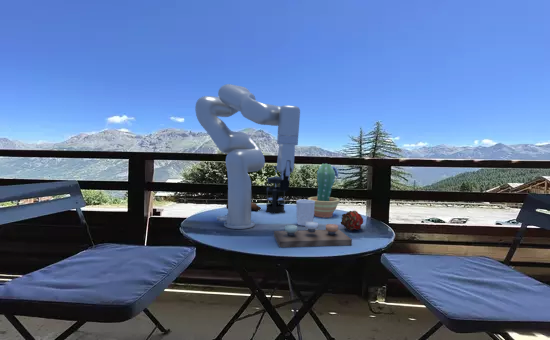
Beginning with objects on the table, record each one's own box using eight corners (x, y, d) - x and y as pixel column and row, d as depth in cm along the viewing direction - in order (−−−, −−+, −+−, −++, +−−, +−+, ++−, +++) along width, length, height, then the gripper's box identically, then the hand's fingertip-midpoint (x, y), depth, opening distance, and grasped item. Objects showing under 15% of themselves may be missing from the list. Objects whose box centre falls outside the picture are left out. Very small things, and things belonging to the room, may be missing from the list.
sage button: (285, 236, 113) (286, 228, 112) (283, 233, 117) (283, 225, 117) (298, 236, 113) (298, 227, 113) (295, 232, 118) (295, 224, 117)
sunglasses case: (263, 208, 172) (261, 198, 168) (258, 217, 166) (256, 207, 163) (233, 205, 178) (230, 196, 175) (228, 214, 173) (224, 204, 170)
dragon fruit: (347, 237, 127) (351, 234, 138) (366, 226, 125) (369, 223, 136) (335, 218, 129) (340, 216, 140) (353, 207, 127) (357, 206, 138)
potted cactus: (340, 219, 149) (342, 165, 147) (306, 218, 152) (307, 164, 149) (338, 212, 164) (340, 163, 162) (308, 211, 167) (309, 162, 165)
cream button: (307, 233, 114) (307, 224, 113) (304, 230, 118) (304, 221, 118) (319, 233, 114) (319, 224, 114) (315, 229, 119) (316, 221, 118)
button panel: (279, 247, 108) (279, 241, 108) (274, 236, 121) (274, 231, 121) (351, 245, 112) (351, 239, 112) (338, 234, 125) (338, 229, 125)
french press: (267, 208, 171) (268, 165, 169) (285, 209, 170) (286, 165, 168) (264, 213, 159) (264, 166, 157) (283, 214, 158) (284, 167, 156)
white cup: (313, 227, 136) (314, 203, 135) (294, 225, 137) (295, 202, 136) (315, 222, 143) (315, 200, 142) (297, 221, 145) (297, 199, 144)
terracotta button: (327, 235, 115) (328, 227, 115) (324, 232, 119) (324, 224, 119) (339, 235, 116) (340, 227, 115) (335, 231, 120) (335, 223, 120)
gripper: (274, 139, 124) (271, 186, 127) (280, 140, 110) (276, 194, 112) (294, 140, 125) (290, 187, 128) (302, 142, 111) (298, 195, 113)
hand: (284, 190), depth 120 cm, fingers closed
